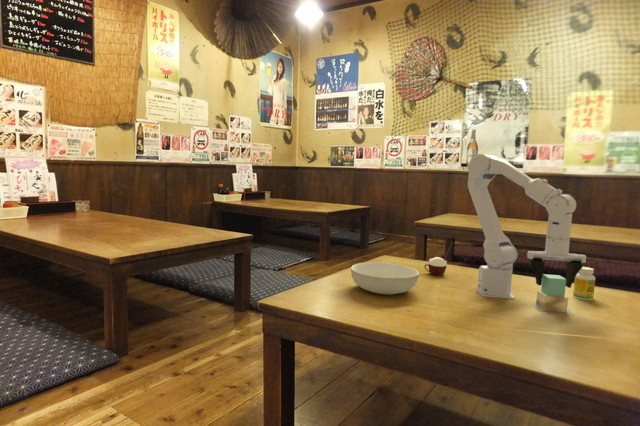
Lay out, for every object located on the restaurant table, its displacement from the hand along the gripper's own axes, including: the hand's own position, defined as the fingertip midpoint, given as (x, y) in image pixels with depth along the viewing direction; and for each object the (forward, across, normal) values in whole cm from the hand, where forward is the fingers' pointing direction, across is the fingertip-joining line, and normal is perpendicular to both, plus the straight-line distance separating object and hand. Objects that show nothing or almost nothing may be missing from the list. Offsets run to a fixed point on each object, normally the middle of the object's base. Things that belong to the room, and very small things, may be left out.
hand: (553, 285), depth 117 cm
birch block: (+6, 0, 0) cm, 6 cm away
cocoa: (+7, -28, +31) cm, 42 cm away
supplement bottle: (+7, +14, +14) cm, 21 cm away
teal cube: (+2, 0, 0) cm, 2 cm away
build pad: (+7, 0, 0) cm, 7 cm away
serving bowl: (+7, -47, +4) cm, 48 cm away
